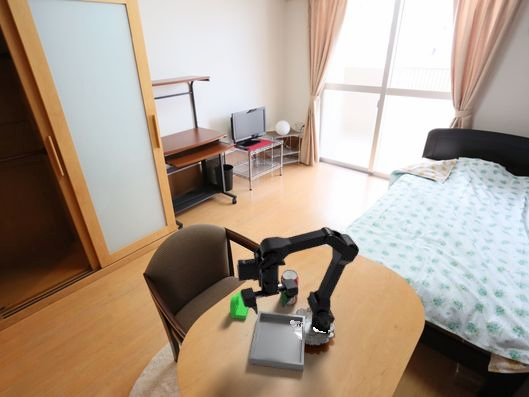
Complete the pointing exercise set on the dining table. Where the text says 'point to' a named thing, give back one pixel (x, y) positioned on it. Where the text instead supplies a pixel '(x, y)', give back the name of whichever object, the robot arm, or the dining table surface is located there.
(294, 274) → the soda can
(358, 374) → the dining table surface
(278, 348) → the tray
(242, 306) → the mechanical part
